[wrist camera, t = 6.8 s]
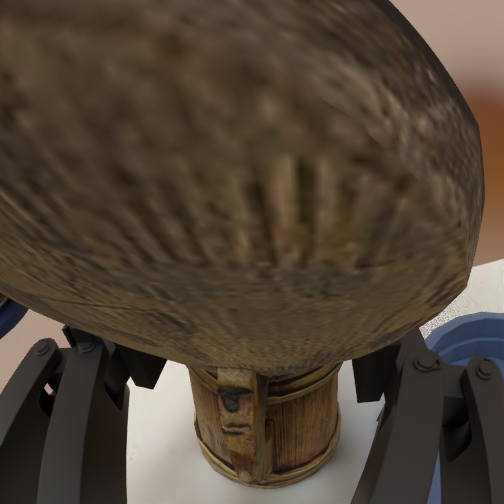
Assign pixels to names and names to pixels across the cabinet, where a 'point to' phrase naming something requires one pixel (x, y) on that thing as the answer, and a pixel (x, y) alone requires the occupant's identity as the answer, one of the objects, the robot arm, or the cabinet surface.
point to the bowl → (466, 354)
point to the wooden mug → (236, 198)
